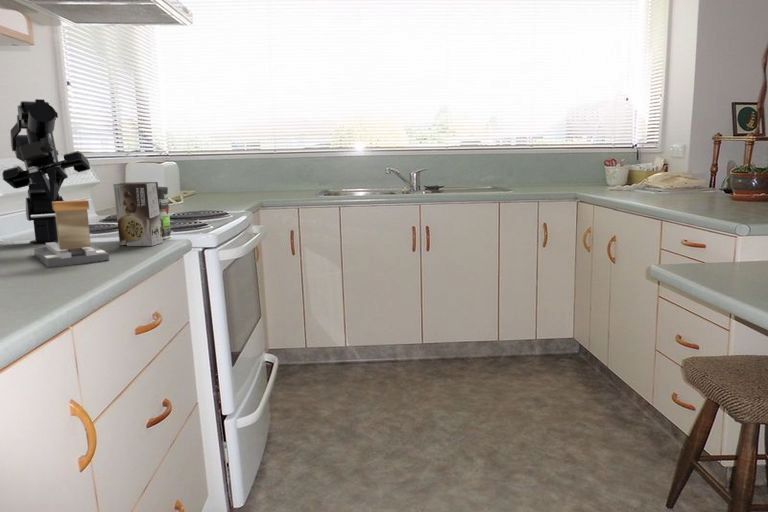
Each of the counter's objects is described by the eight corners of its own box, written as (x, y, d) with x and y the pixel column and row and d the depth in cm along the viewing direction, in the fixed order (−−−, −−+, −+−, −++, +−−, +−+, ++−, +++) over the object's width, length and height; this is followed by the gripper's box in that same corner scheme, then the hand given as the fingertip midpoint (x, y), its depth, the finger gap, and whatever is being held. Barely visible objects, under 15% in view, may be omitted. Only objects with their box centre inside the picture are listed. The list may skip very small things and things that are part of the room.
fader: (57, 253, 132) (51, 201, 130) (90, 250, 136) (84, 199, 134) (60, 255, 129) (54, 202, 127) (93, 252, 133) (88, 200, 131)
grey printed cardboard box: (163, 242, 159) (159, 181, 156) (152, 246, 153) (147, 183, 150) (131, 242, 160) (125, 181, 157) (118, 246, 154) (112, 183, 151)
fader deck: (34, 254, 142) (33, 244, 142) (89, 249, 149) (88, 239, 149) (48, 267, 127) (47, 255, 126) (109, 260, 134) (108, 249, 133)
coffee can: (176, 235, 172) (173, 186, 170) (163, 240, 162) (159, 188, 159) (141, 235, 172) (137, 186, 170) (125, 241, 162) (120, 189, 160)
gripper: (-15, 139, 142) (-6, 197, 137) (65, 119, 144) (77, 175, 140) (10, 160, 152) (20, 215, 148) (85, 141, 155) (96, 194, 151)
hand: (53, 199), depth 146 cm, fingers closed
